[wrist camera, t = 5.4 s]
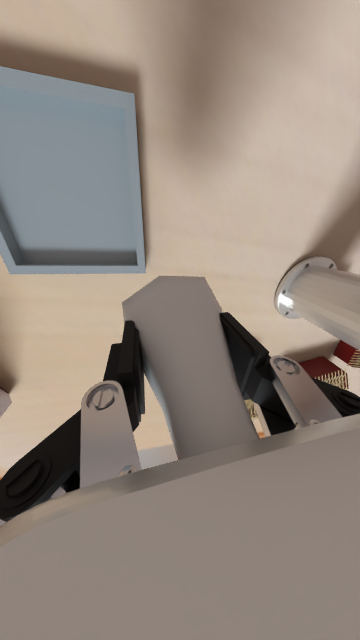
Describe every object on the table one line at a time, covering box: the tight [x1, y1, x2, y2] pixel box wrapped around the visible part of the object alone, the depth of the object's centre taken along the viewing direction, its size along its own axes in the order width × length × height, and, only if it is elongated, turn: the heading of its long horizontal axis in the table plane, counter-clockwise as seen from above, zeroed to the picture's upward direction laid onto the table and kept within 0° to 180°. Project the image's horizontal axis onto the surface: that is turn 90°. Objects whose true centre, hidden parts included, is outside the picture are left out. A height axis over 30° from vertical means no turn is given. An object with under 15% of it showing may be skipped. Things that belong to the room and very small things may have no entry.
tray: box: [0, 66, 146, 274], centre depth 18 cm, size 16×16×2 cm
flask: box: [122, 276, 260, 460], centre depth 8 cm, size 7×7×10 cm
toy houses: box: [244, 340, 360, 420], centre depth 42 cm, size 45×20×10 cm, turn 97°
